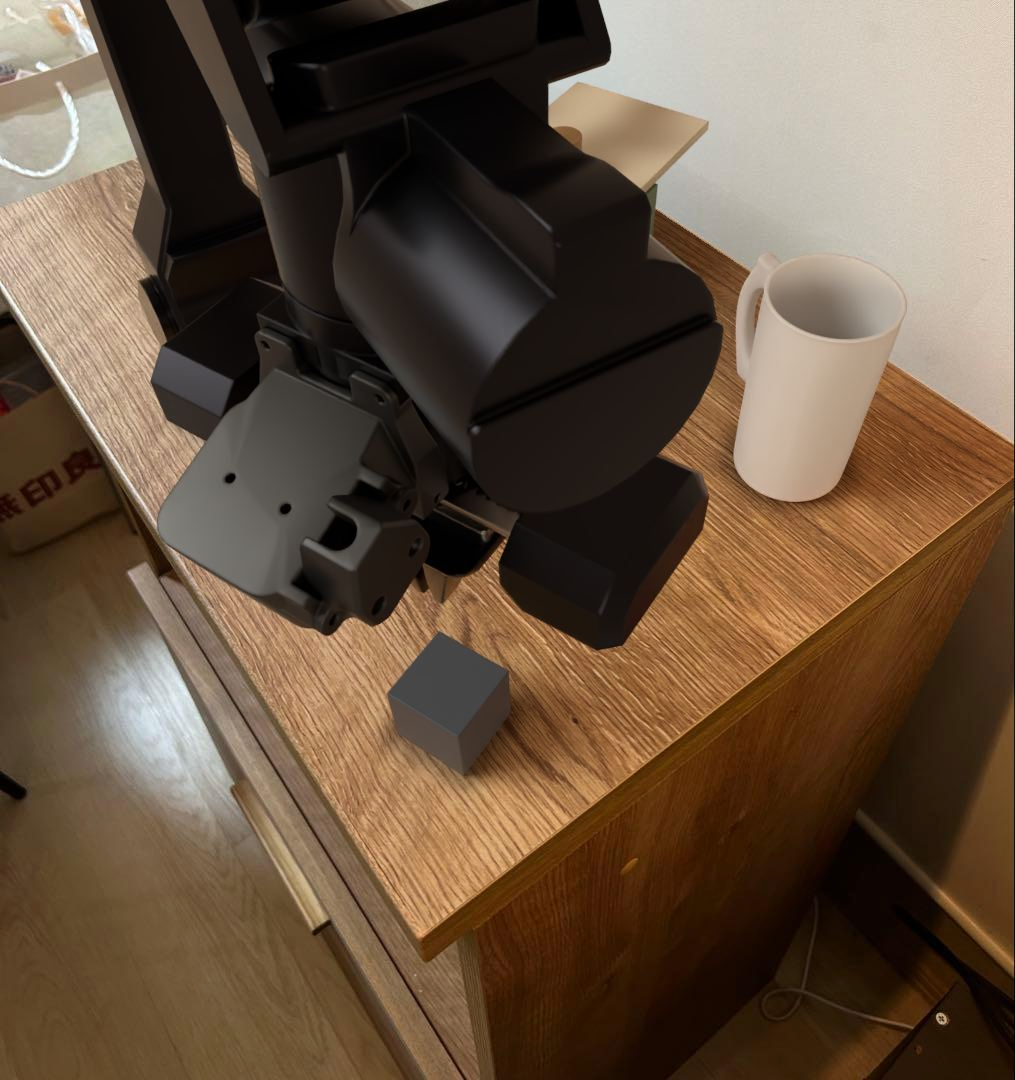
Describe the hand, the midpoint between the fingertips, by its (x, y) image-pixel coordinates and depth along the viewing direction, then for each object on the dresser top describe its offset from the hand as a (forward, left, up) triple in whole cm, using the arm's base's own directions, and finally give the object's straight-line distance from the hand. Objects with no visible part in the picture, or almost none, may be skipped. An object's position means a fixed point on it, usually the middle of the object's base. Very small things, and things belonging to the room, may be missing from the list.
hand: (437, 589), depth 39 cm
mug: (+5, +25, -11) cm, 28 cm away
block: (0, 0, -11) cm, 11 cm away
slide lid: (-15, +38, -5) cm, 41 cm away
